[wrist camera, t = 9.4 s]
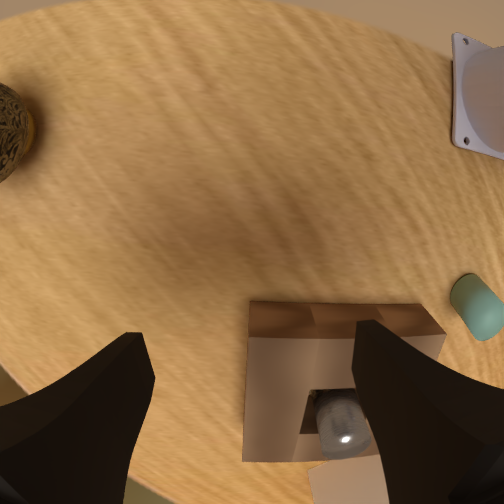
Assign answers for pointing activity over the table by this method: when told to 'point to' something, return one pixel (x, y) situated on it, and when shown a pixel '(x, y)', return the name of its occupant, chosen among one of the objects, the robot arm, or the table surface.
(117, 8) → the table surface
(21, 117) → the cup
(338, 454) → the tall pin
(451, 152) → the table surface
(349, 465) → the milk
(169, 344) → the table surface
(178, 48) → the table surface
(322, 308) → the hole block
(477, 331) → the short pin
